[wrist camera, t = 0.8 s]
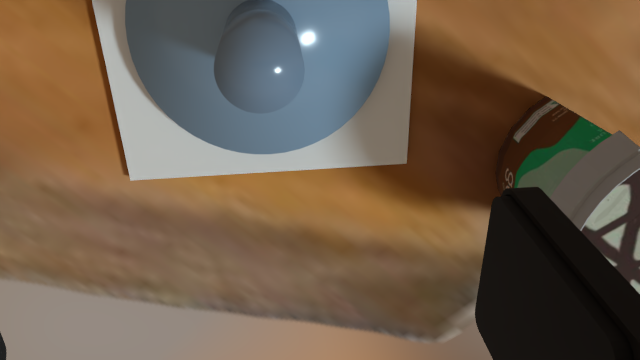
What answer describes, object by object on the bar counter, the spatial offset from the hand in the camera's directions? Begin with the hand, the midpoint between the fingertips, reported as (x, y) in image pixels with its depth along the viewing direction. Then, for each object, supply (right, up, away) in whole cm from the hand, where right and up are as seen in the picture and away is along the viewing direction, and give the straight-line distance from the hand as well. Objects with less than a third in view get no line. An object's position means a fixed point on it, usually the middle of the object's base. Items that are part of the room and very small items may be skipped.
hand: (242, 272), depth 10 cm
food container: (+14, +2, +24) cm, 28 cm away
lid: (-2, +9, +18) cm, 20 cm away
